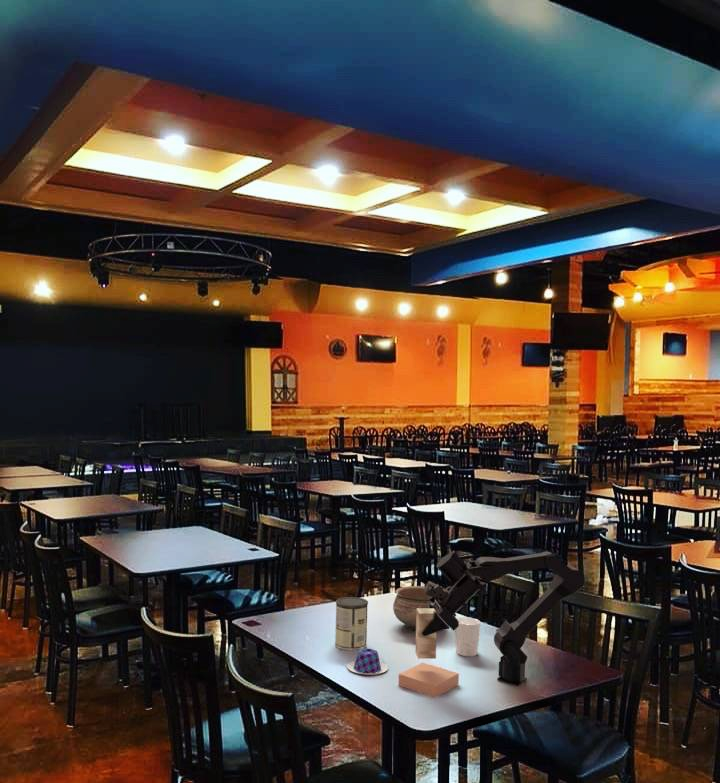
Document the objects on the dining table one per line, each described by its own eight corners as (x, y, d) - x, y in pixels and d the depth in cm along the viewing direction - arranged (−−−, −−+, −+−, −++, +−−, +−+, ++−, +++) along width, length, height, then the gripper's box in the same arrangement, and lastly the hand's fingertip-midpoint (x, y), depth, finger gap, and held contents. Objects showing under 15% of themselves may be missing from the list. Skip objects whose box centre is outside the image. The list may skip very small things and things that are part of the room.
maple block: (432, 652, 201) (433, 608, 201) (435, 658, 196) (436, 613, 196) (415, 652, 200) (416, 608, 201) (418, 658, 195) (419, 613, 196)
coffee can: (343, 638, 232) (344, 595, 232) (371, 643, 227) (373, 599, 228) (328, 647, 222) (330, 602, 223) (358, 653, 218) (359, 607, 218)
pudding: (363, 659, 214) (363, 641, 214) (395, 668, 207) (396, 650, 207) (338, 670, 204) (339, 651, 204) (372, 680, 197) (372, 661, 197)
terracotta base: (458, 684, 196) (458, 673, 196) (435, 697, 186) (435, 685, 186) (422, 672, 203) (422, 662, 203) (398, 684, 194) (398, 674, 194)
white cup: (478, 658, 217) (479, 625, 217) (453, 655, 218) (454, 623, 218) (479, 650, 224) (480, 618, 225) (454, 647, 226) (455, 616, 226)
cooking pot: (416, 642, 230) (418, 604, 230) (375, 628, 243) (376, 592, 244) (463, 627, 247) (464, 592, 248) (421, 614, 261) (422, 581, 261)
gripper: (435, 565, 208) (397, 602, 207) (448, 580, 190) (406, 621, 189) (461, 592, 209) (423, 629, 208) (476, 610, 190) (434, 651, 189)
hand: (421, 631), depth 198 cm, fingers closed on maple block, 5 cm apart
